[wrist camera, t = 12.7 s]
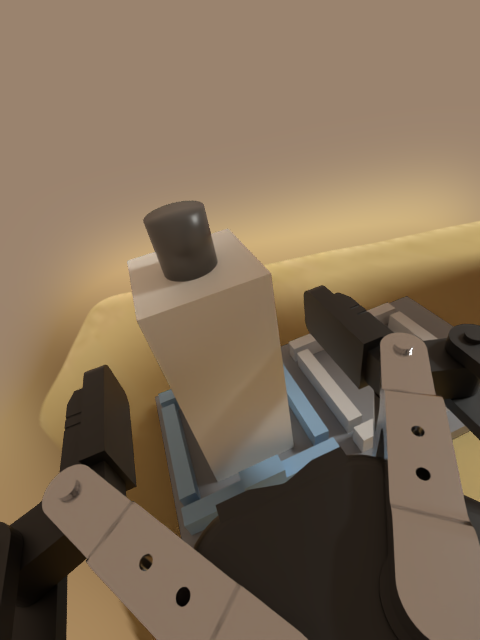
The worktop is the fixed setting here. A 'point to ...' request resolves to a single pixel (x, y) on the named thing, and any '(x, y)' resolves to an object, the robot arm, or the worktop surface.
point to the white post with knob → (214, 336)
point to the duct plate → (306, 421)
